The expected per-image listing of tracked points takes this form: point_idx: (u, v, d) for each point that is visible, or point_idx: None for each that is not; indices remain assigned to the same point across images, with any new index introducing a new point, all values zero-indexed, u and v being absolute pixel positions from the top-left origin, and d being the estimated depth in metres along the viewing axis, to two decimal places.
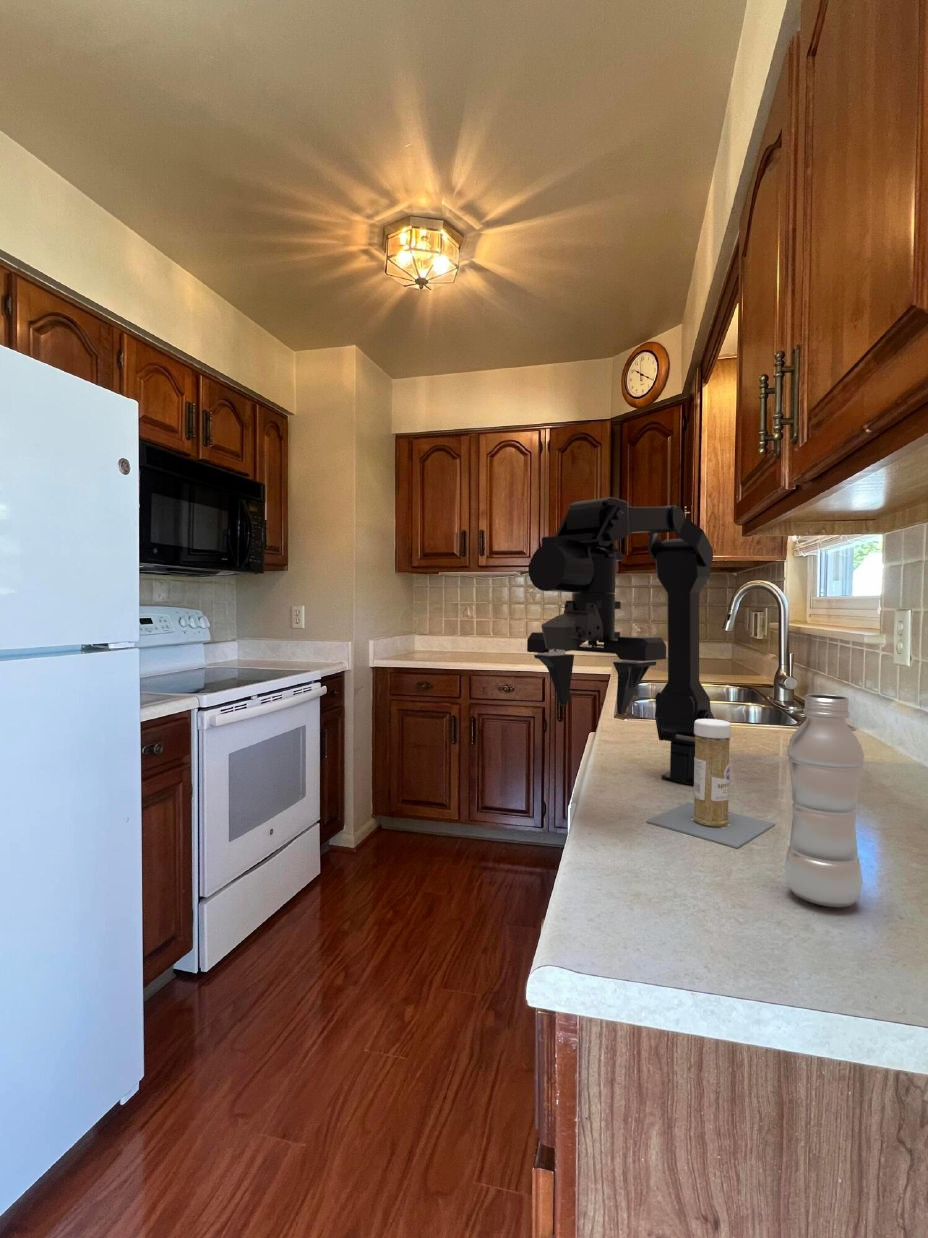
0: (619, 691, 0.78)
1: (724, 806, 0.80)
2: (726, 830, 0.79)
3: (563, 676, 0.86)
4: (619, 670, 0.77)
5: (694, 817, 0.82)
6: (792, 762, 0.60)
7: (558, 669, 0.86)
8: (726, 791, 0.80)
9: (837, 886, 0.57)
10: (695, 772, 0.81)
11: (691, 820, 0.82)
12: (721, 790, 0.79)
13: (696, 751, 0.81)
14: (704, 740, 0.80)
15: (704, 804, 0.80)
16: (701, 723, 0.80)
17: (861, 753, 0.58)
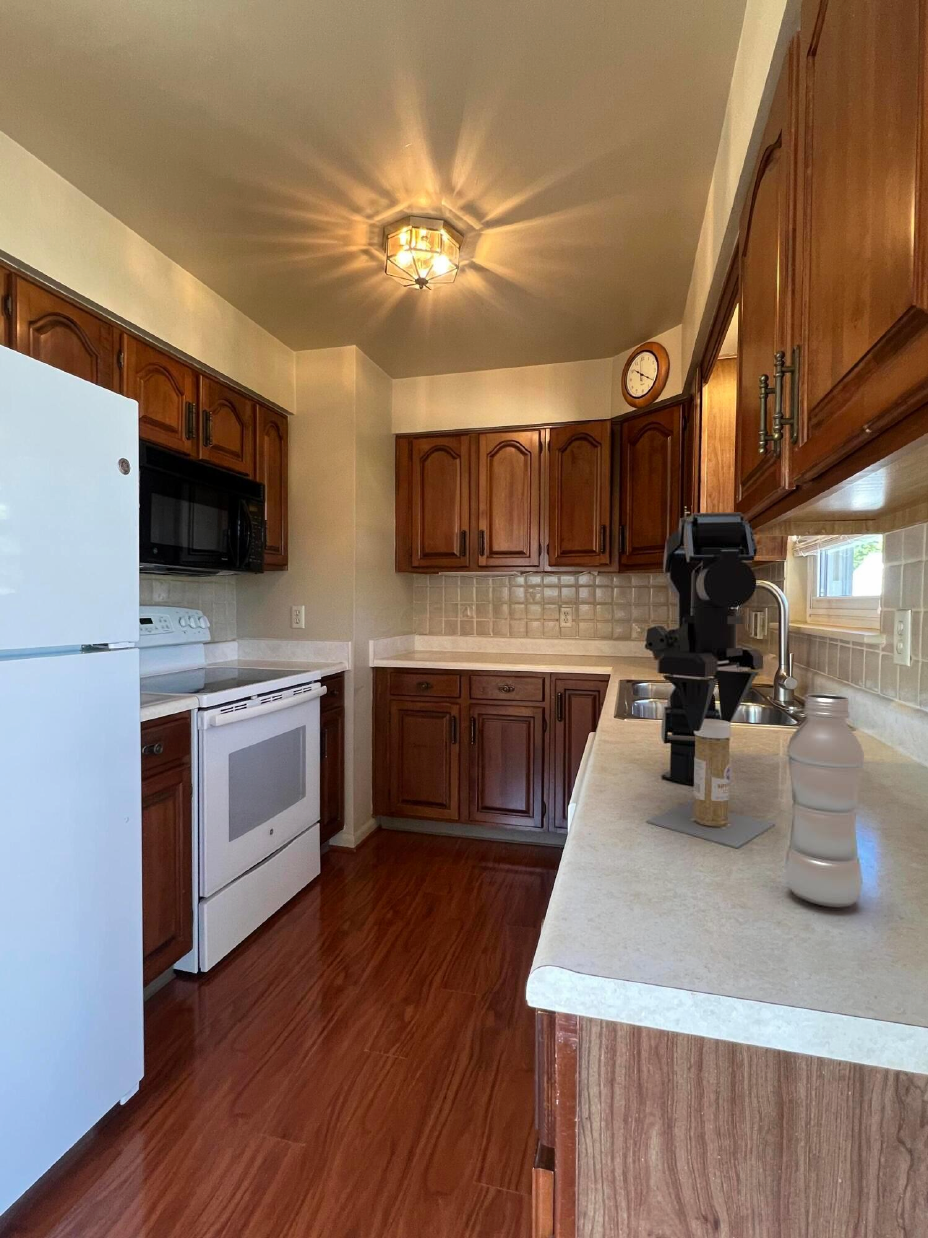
0: None
1: (724, 806, 0.80)
2: (726, 830, 0.79)
3: (727, 692, 0.85)
4: None
5: (694, 817, 0.82)
6: (792, 762, 0.60)
7: (720, 684, 0.86)
8: (726, 791, 0.80)
9: (837, 886, 0.57)
10: (695, 772, 0.81)
11: (691, 820, 0.82)
12: (721, 790, 0.79)
13: (696, 751, 0.81)
14: (704, 740, 0.80)
15: (704, 804, 0.80)
16: None
17: (861, 753, 0.58)
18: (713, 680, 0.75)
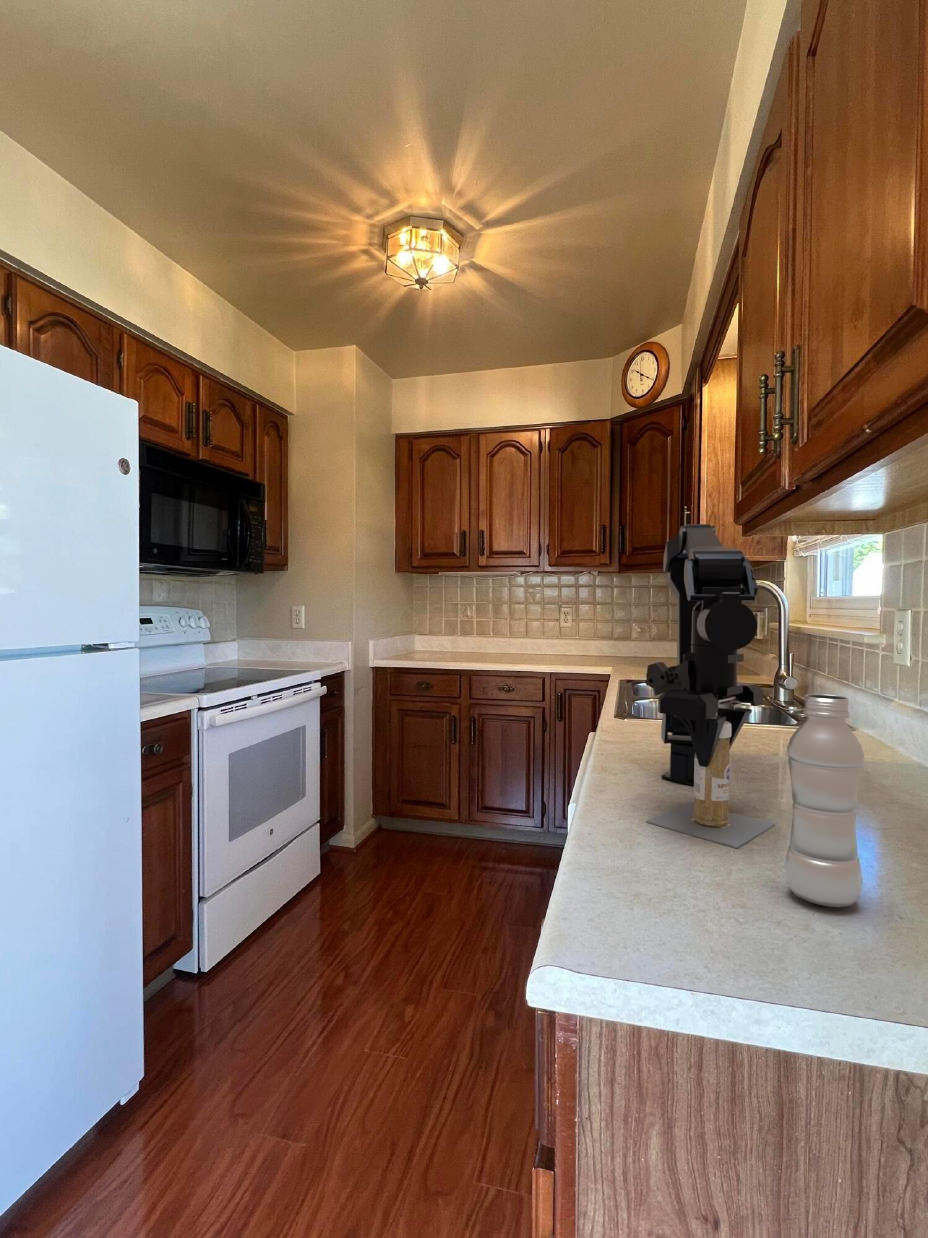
0: None
1: (724, 806, 0.80)
2: (726, 830, 0.79)
3: None
4: None
5: (694, 817, 0.82)
6: (792, 762, 0.60)
7: None
8: (726, 791, 0.80)
9: (837, 886, 0.57)
10: (695, 772, 0.81)
11: (691, 820, 0.82)
12: (721, 790, 0.79)
13: None
14: None
15: (704, 804, 0.80)
16: None
17: (861, 753, 0.58)
18: (722, 719, 0.76)
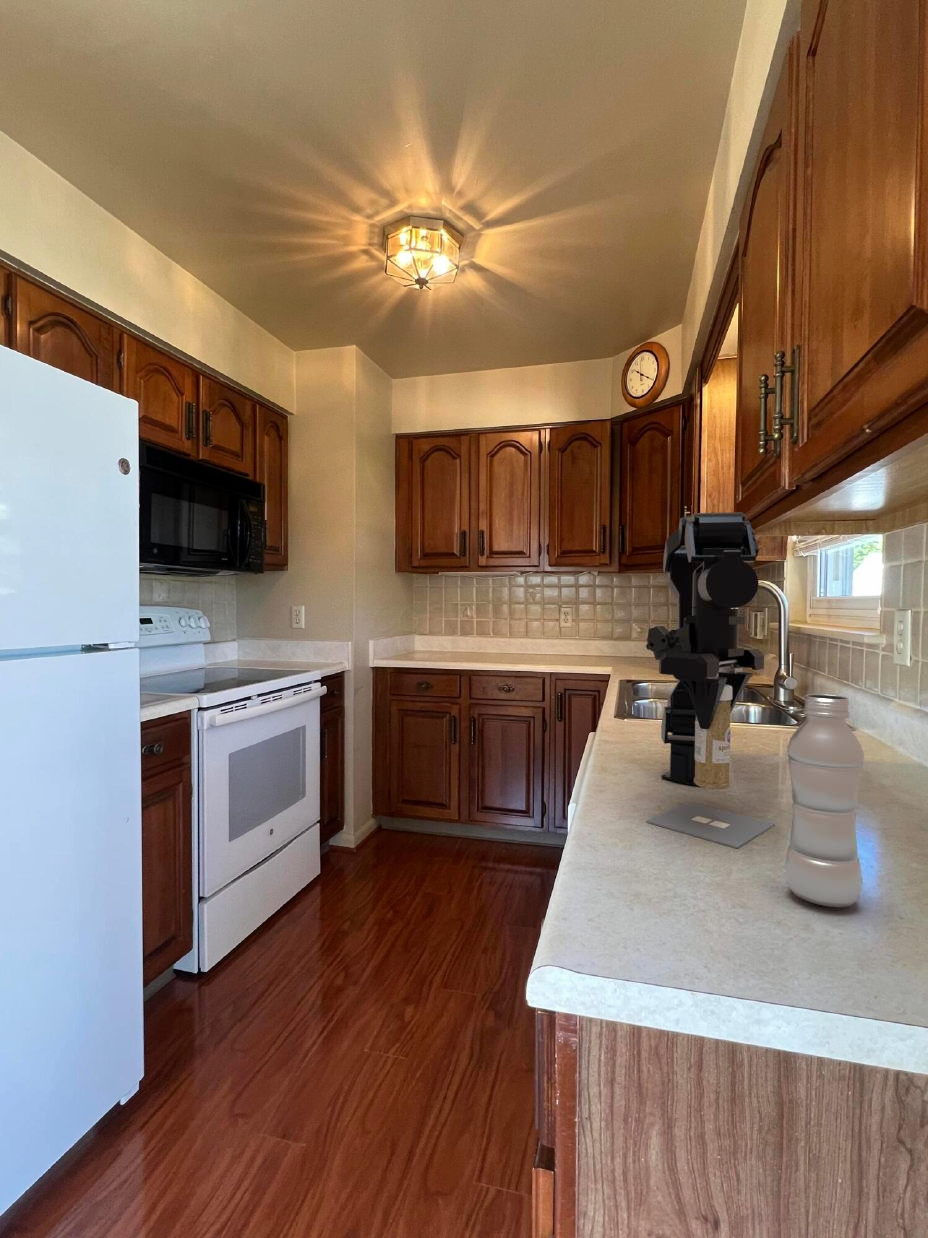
0: None
1: (725, 768, 0.80)
2: (726, 830, 0.79)
3: None
4: None
5: (695, 780, 0.81)
6: (792, 762, 0.60)
7: None
8: (727, 754, 0.80)
9: (837, 886, 0.57)
10: (696, 735, 0.81)
11: (691, 820, 0.82)
12: (722, 752, 0.79)
13: None
14: None
15: (704, 767, 0.80)
16: None
17: (861, 753, 0.58)
18: (723, 679, 0.76)
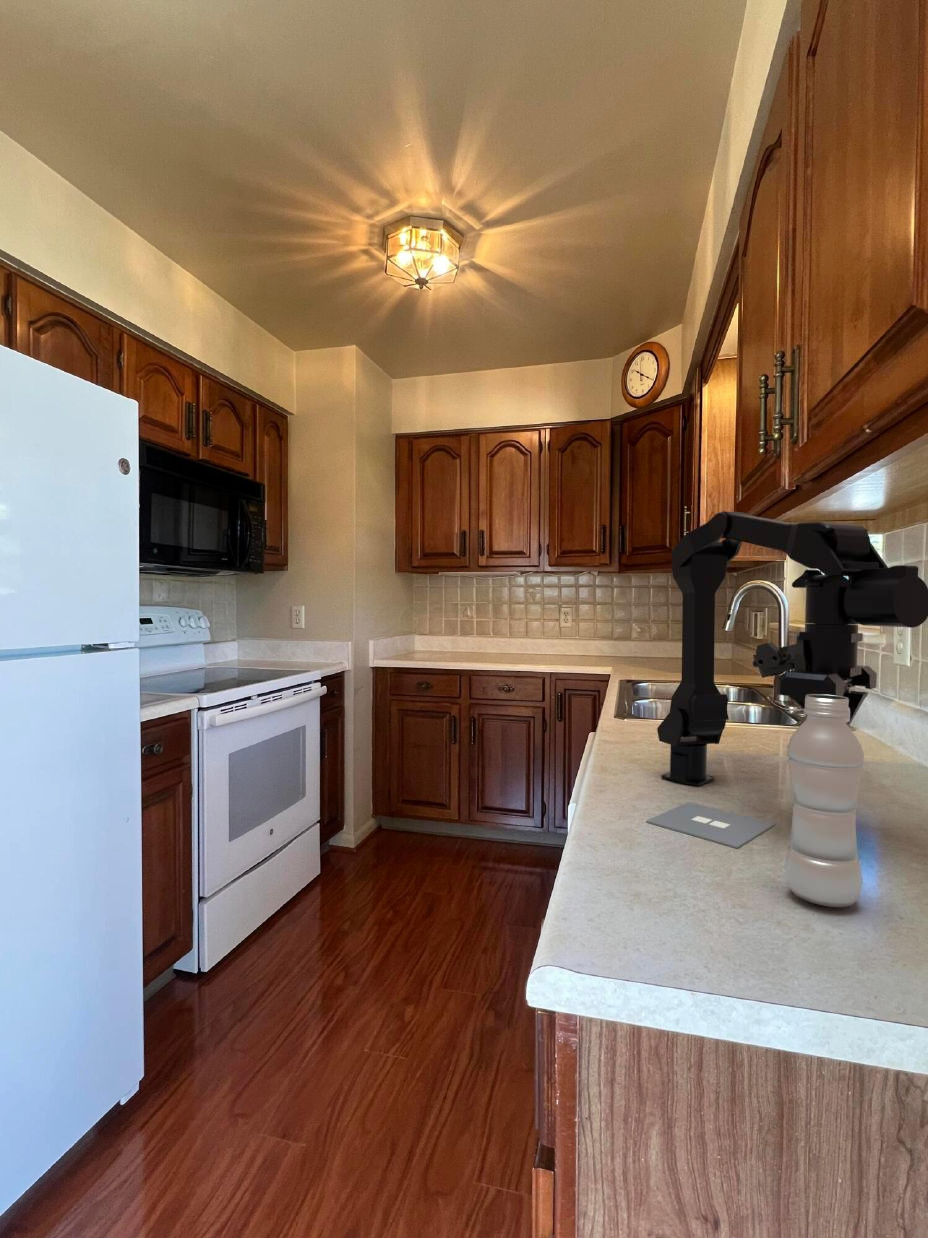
0: None
1: None
2: (726, 830, 0.79)
3: None
4: None
5: None
6: (792, 762, 0.60)
7: None
8: None
9: (837, 886, 0.57)
10: None
11: (691, 820, 0.82)
12: None
13: None
14: None
15: None
16: None
17: (861, 753, 0.58)
18: None
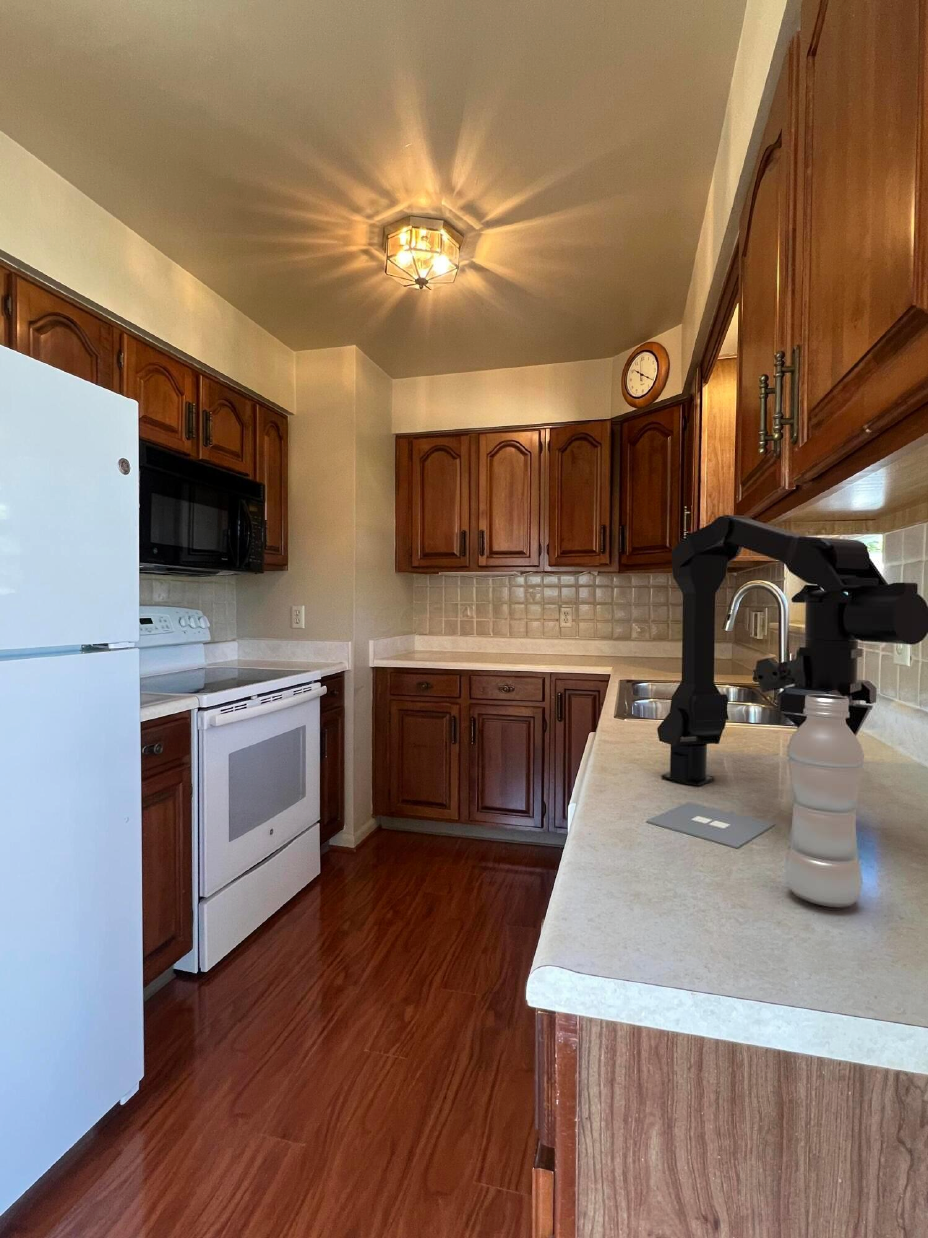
0: None
1: None
2: (726, 830, 0.79)
3: None
4: None
5: None
6: (792, 762, 0.60)
7: None
8: None
9: (837, 886, 0.57)
10: None
11: (691, 820, 0.82)
12: None
13: None
14: None
15: None
16: None
17: (861, 753, 0.58)
18: None
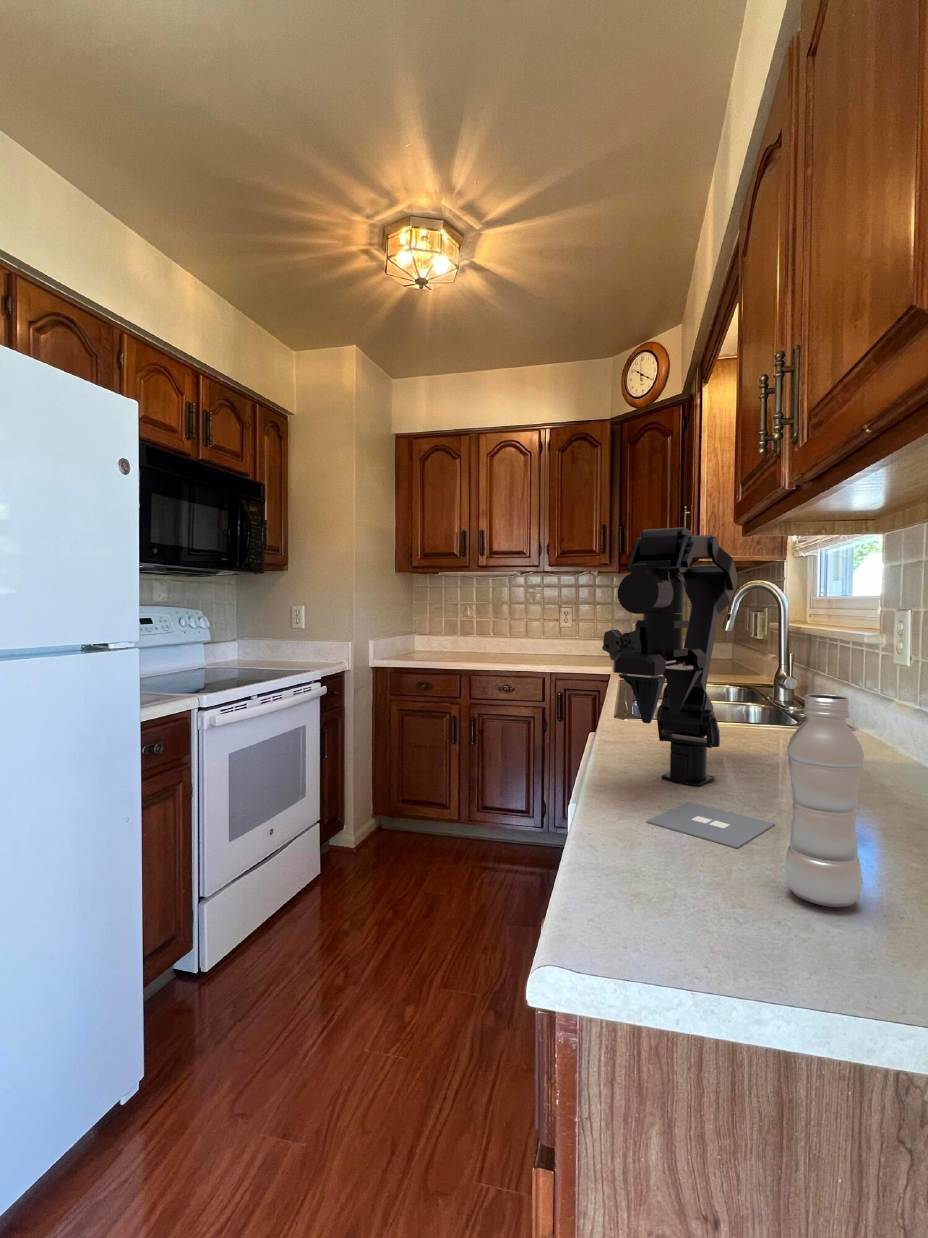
0: None
1: None
2: (726, 830, 0.79)
3: (675, 688, 0.95)
4: None
5: None
6: (792, 762, 0.60)
7: (669, 681, 0.96)
8: None
9: (837, 886, 0.57)
10: None
11: (691, 820, 0.82)
12: None
13: None
14: None
15: None
16: None
17: (861, 753, 0.58)
18: (662, 678, 0.85)
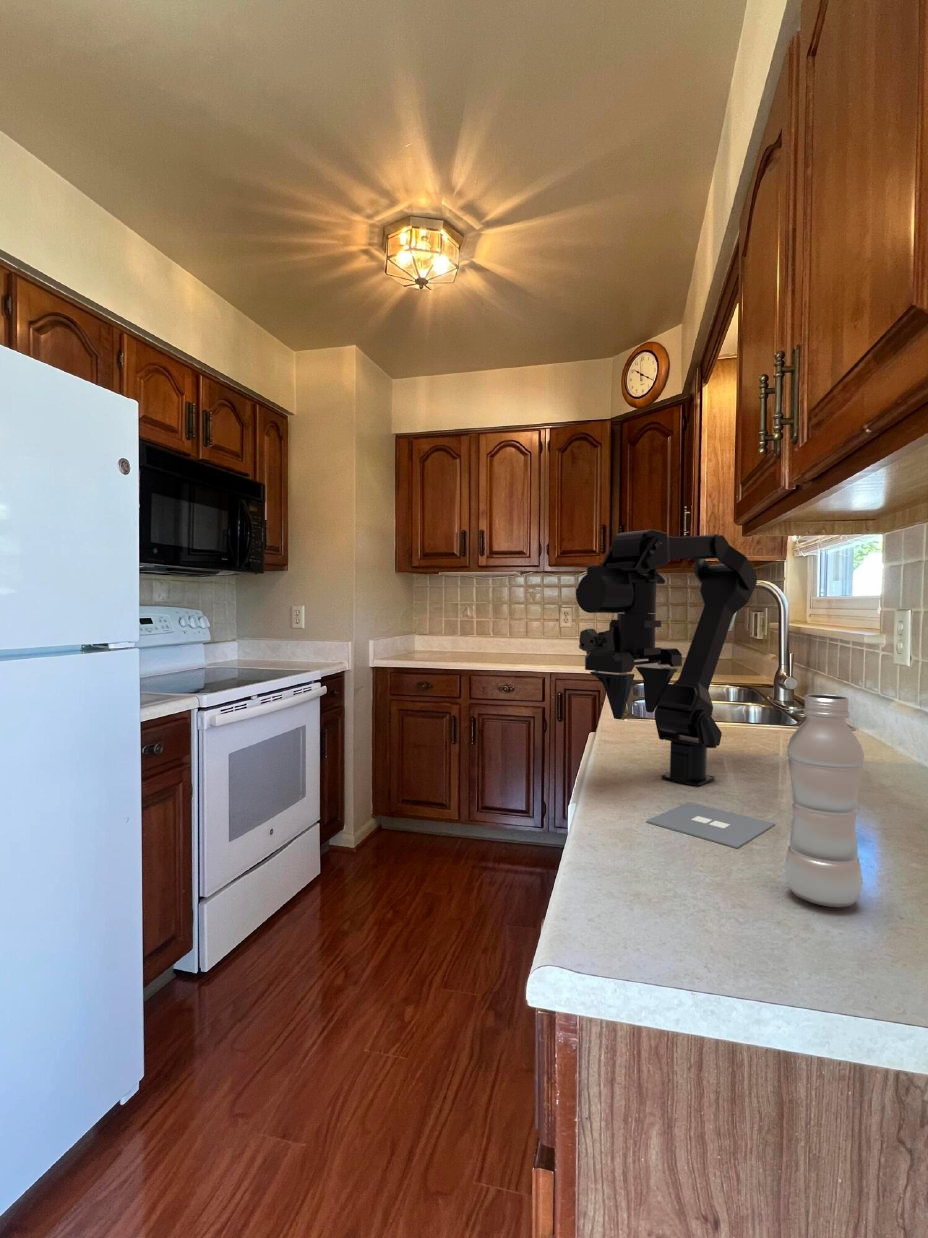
0: None
1: None
2: (726, 830, 0.79)
3: (650, 686, 0.97)
4: None
5: None
6: (792, 762, 0.60)
7: (645, 679, 0.98)
8: None
9: (837, 886, 0.57)
10: None
11: (691, 820, 0.82)
12: None
13: None
14: None
15: None
16: None
17: (861, 753, 0.58)
18: (630, 675, 0.88)
